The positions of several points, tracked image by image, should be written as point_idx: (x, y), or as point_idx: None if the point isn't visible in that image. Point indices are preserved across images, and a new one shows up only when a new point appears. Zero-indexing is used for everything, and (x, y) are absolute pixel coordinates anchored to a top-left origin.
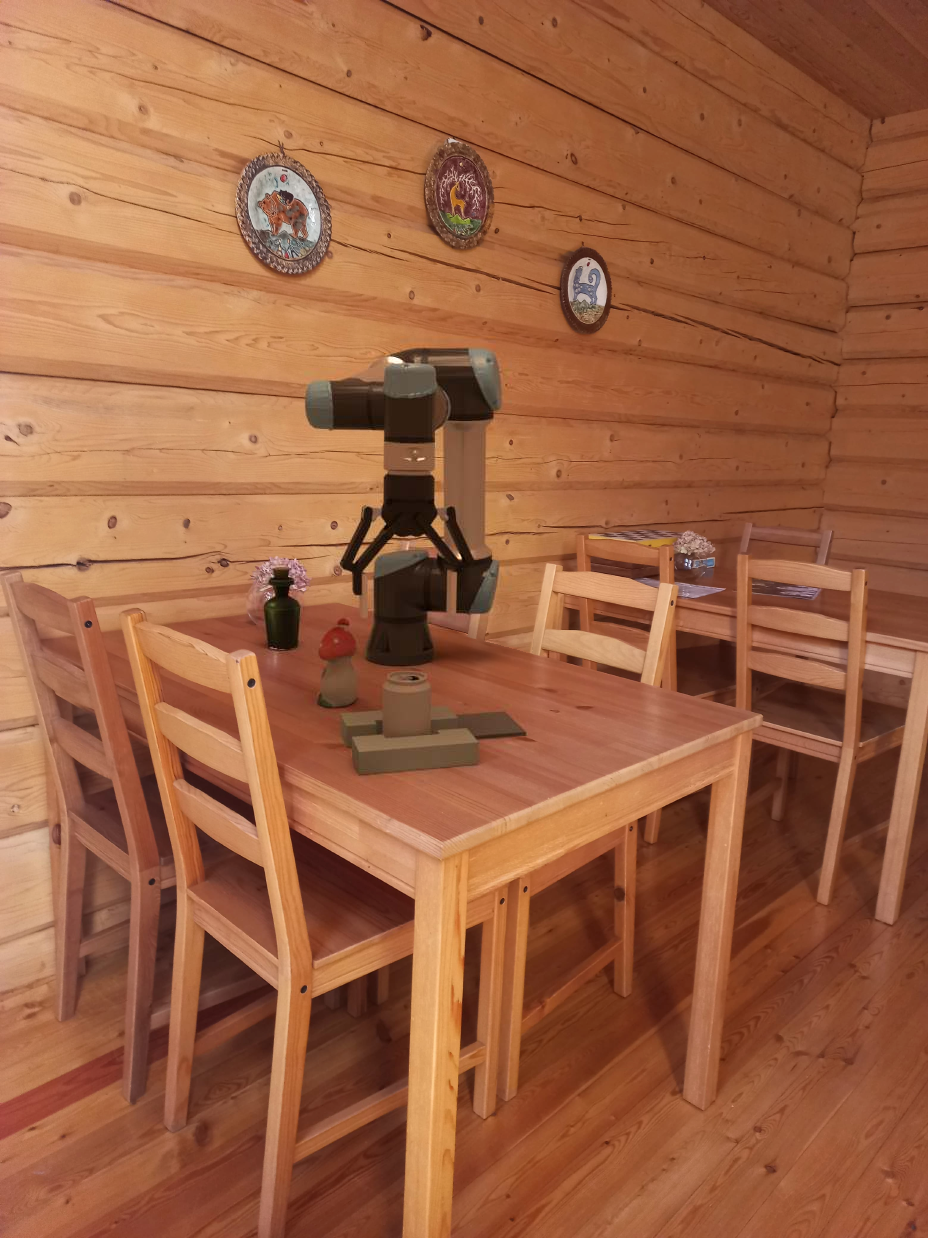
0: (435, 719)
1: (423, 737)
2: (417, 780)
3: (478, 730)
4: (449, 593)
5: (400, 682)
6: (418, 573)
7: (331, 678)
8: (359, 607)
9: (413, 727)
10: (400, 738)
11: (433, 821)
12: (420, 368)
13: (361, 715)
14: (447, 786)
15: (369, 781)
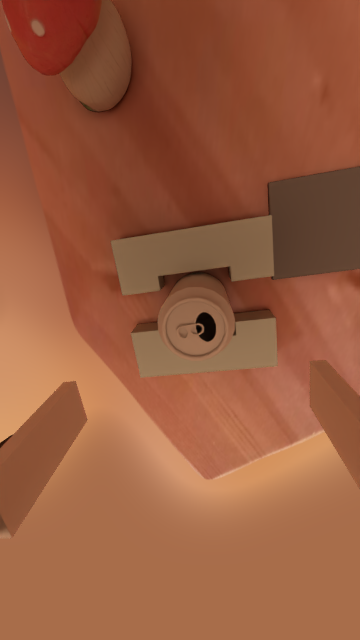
0: (240, 279)
1: None
2: (201, 383)
3: (302, 256)
4: (338, 427)
5: (182, 357)
6: None
7: (74, 86)
8: (53, 394)
9: (203, 338)
10: None
11: (204, 454)
12: None
13: (139, 253)
14: (227, 399)
15: (156, 379)
